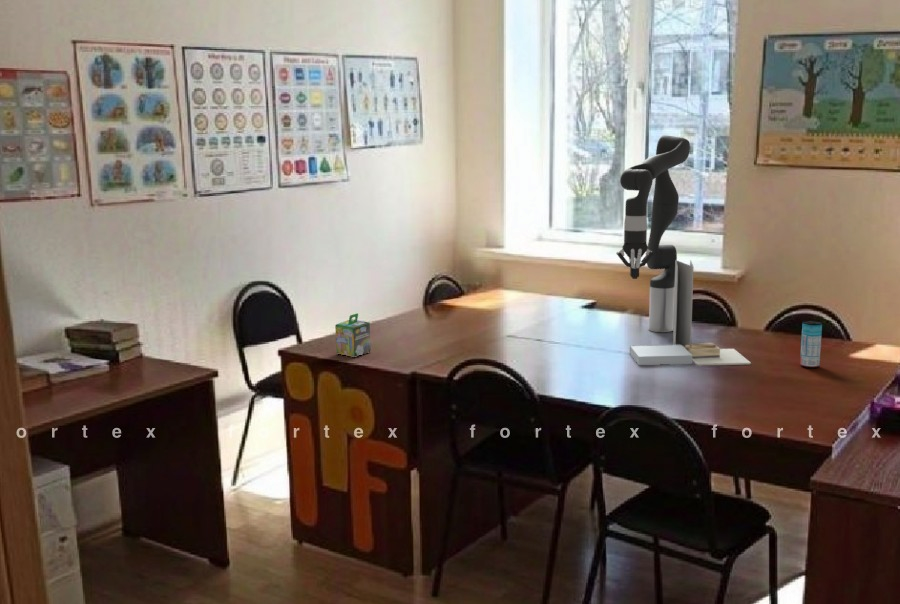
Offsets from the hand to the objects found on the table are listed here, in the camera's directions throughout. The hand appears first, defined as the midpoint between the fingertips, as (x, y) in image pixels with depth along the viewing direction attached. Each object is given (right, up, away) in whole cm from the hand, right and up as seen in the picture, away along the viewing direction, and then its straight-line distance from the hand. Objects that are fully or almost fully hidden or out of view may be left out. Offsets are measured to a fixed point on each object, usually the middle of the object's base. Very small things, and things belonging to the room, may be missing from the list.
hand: (634, 278), depth 304 cm
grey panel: (+21, -24, +16) cm, 36 cm away
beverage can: (+55, -30, -14) cm, 64 cm away
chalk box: (-98, -27, +14) cm, 103 cm away
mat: (+28, -27, -1) cm, 39 cm away
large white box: (+9, -28, -1) cm, 29 cm away
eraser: (+23, -27, -1) cm, 35 cm away
